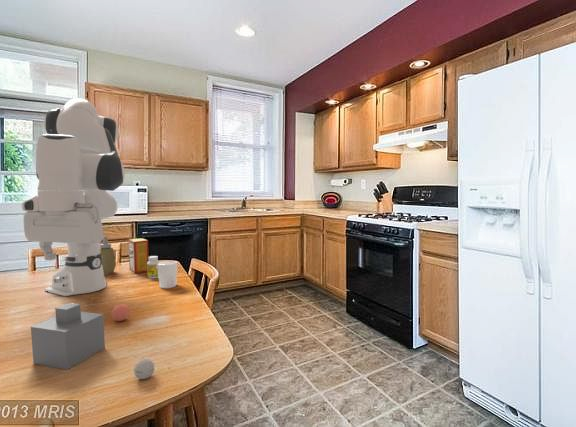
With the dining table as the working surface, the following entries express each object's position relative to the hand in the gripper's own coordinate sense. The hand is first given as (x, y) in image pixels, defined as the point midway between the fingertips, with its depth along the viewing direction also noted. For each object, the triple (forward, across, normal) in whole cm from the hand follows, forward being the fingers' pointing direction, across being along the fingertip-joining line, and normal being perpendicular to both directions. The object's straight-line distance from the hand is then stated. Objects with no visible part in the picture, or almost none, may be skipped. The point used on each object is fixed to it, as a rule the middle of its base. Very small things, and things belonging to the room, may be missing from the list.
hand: (65, 260), depth 75 cm
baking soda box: (+23, +42, -72) cm, 87 cm away
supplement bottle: (+23, +27, -64) cm, 73 cm away
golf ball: (+24, -24, +3) cm, 34 cm away
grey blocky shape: (+23, 0, 0) cm, 23 cm away
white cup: (+23, +12, -54) cm, 60 cm away
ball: (+21, +4, -20) cm, 29 cm away
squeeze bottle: (+23, +54, -64) cm, 87 cm away
